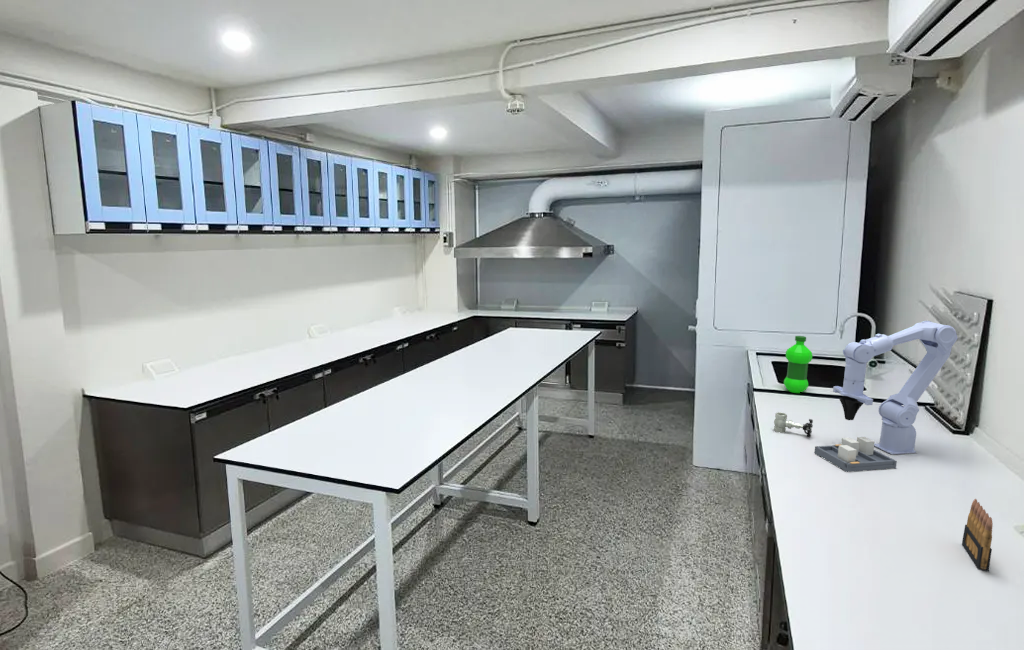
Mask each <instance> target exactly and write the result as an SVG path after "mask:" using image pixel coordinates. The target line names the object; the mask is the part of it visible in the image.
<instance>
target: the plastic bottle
mask: <svg viewBox="0 0 1024 650" xmlns="http://www.w3.org/2000/svg"><path fill="white" fill-rule="evenodd" d="M794 341H795V344H793V345H791V346H790V347H788V348H787V350H786V351H785V358H786V360H787V368H786V369H787V370H786V371H787V372H786V376H785V378H784V379H783V384H784V387H785V388H786V389H787V391H788V392H790V393H792V394H793V393H794V394H801V393H800V392H802V393H803V392H804V391H806V390H807V389H808V388H809V381H808V379H807V377H808V371H809V369H808V368H809V363H810V362H812V360H813V353H812V351H811V350H810V349H809V348H808V347H807V346H806V345H805V342H807V337H806V336H804V335H795V336H794Z"/></svg>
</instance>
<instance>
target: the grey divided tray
mask: <svg viewBox="0 0 1024 650" xmlns="http://www.w3.org/2000/svg"><path fill="white" fill-rule="evenodd" d="M839 445H841V443H839V444H830V445H819V446H817V445H816V446H814V452H813V453H815V455H816V454H817V455H816V456H818V455H819V456H818V457H820V456H821V457H823V458H825V459H827V460H828V461H830V462H832V463H833V464H832V463H831V464H832V465H834V464H835V465H837V466H838V467H837V466H836V467H837V468H839V467H840V468H839V469H841V468H842V469H843V470H842V469H841V470H842V471H844V470H845V471H844V472H846V471H847V472H846V473H849V472H848V471H854V472H863V470H867V471H876V470H875V469H881V470H887V469H886V468H894V469H896V468H897V463H898V461H897V460H896V459H893V458H892V457H891V456H890V457H889V456H887V455H885V454H884V453H882V452H879V451H877V450H876V449H874V451H873V455H867V454H865V453H863V452H861V451H859V450H858V456H856V460H855V462H850V463H847V462H845V461H843V460H841V459H839V458H838V448H839ZM821 457H820V458H821ZM823 458H822V459H823ZM825 459H824V460H825ZM827 460H826V461H827ZM828 461H827V462H828ZM830 462H829V463H830ZM835 465H834V466H835Z"/></svg>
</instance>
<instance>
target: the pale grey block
mask: <svg viewBox="0 0 1024 650" xmlns="http://www.w3.org/2000/svg"><path fill="white" fill-rule="evenodd" d="M856 441H857V442H859V451H861V452H863V453H865V454H867V455H873V451H874V450H875V446H874V444H876V443H875V440H873V439H870V438H869V437H867V436H857V437H856Z"/></svg>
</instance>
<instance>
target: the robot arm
mask: <svg viewBox="0 0 1024 650" xmlns="http://www.w3.org/2000/svg"><path fill="white" fill-rule="evenodd" d="M958 339H959V338H958V333H957V331H956V329H955V328H954V327H953V326H952V325H948V324H947V325H946V324H941V323H938V322H933V321H931V320H923V321H920V322H916V323H914V325H913V326H910V327H907V328H905V329H903V330H899V331H897V332H894V333H893V334H890V335H887V334H884V333H883V334H881V333H877V334H874V336H872V337H870V338H866V339H865V338H864V339H861V340H860V341H859V342H856V341H852V342H849V343H848V344H846V346H845V348H844V349H843V350H842V355H843V356H844V357H845V367H844V376H843V377H844V378H843V382H842V383H843V385H842V386H839V385H835V386H833V389H832V392H833V393H834V394H835V393H837V394H839V395H841V396H842V397H839V401H840V404H841V405H842V406H841V407H842V409H843V413H844V414H843V415H844V419H845V420H846V421H854V420H855V416H856V415H857V412H858V411H859V410H860V408H861V407H862V406H863V405H866V406H873V402H874V399H873V398H871V397H870V396H868V395H867V394H865V393H864V388H865V382H866V381H865V380H866V374H867V373H866V372H867V365H868V363H869V362H870V361H871V360H872V358H873V357H877V356H879V355H881V354H885V353H888V352H890V351H892V349H893V347H894V346H897V345H900V344H905V343H908V342H911V341H912V342H913V341H915V340H919V341H920V342H921V344H923V347H925V351H926V353H925V355H924V356H923V358H922V359H921V361H920V362H919V363H918V365H917V366H916V368H915V369H914V371H913V372H912V373H911V375H910V376H909V377H908V379H907V381H906V382H905V383H904V385H903V386H902V387H901V389H900V390H899V391H898V393H894V394H891V395H889V397H888V398H887V399H886V400H884V401H883V402H882V403H880V404H879V406H878V413H879V416H880V417H881V420H882V421H881V430H880V436H879V437H880V438H879V443H874V448H877V449H879V450H882V451H883V452H885V453H888V454H889V455H902V454H904V455H905V454H917V450H915V446H916V439H917V431H916V427H914V425H913V424H915V421H916V419H917V415H918V413H919V412H920V409H919V406H918V405H919V404H918V403H917V402H918V401H919V400H920V398H921V397H922V395H923V394H924V392H925V391H926V390H927V388H928V387H929V385H930V384H931V383H932V382H933V380H934V378H936V376H937V374H939V372H940V370H941V369H942V367H943V366H944V365H945V363H946V362H947V361H948V359H949V358H950V357H951V356H950V355H951V353H952V352H951V351H952V349H953V346H954V345H955V343H956V342H957V340H958Z"/></svg>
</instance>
